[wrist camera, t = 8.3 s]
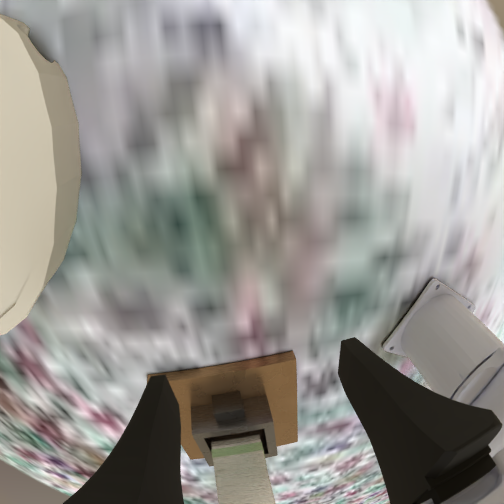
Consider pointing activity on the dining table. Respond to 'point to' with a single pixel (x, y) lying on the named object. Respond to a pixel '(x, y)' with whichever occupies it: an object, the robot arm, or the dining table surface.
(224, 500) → the grayish brown rectangular block
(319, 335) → the dining table surface
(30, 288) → the ashtray
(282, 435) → the stand base
